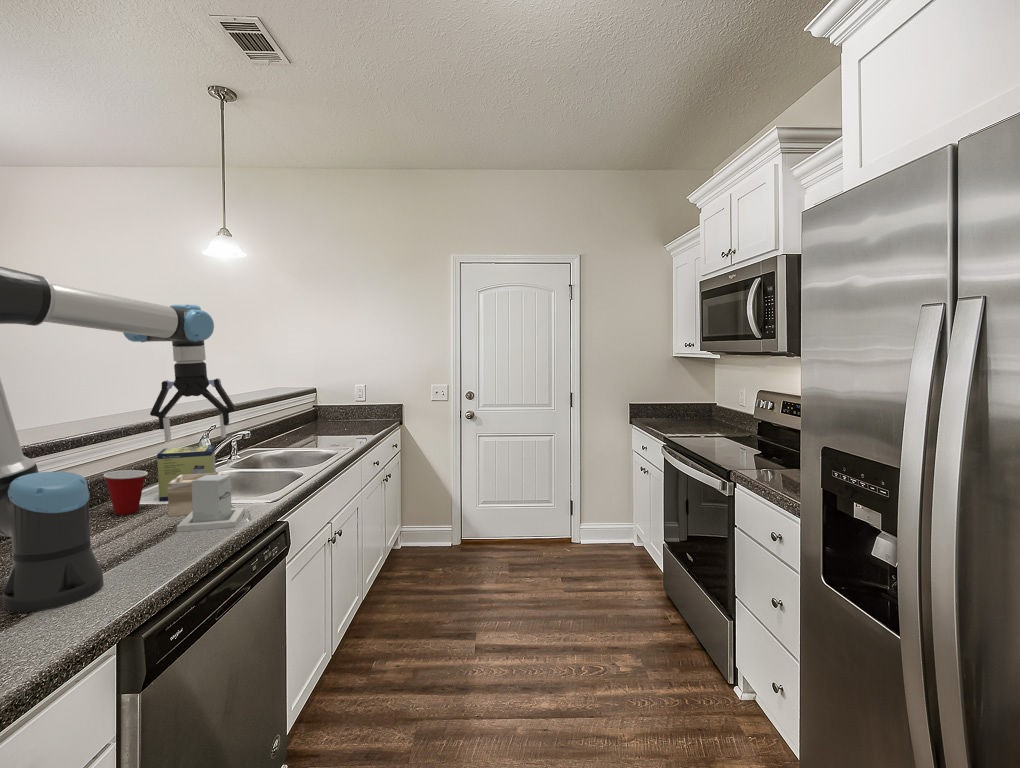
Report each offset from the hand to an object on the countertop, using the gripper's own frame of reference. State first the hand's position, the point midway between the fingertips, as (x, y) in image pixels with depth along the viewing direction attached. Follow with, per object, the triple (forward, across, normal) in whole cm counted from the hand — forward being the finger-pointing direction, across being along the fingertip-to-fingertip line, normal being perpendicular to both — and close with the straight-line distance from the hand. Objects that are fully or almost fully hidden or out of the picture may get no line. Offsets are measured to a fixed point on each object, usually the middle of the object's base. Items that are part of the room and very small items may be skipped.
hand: (196, 439), depth 149 cm
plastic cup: (+24, +24, -17) cm, 37 cm away
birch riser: (+24, +4, -14) cm, 28 cm away
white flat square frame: (+24, -3, +1) cm, 24 cm away
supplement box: (+24, -3, +1) cm, 24 cm away
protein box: (+25, +11, -32) cm, 42 cm away
